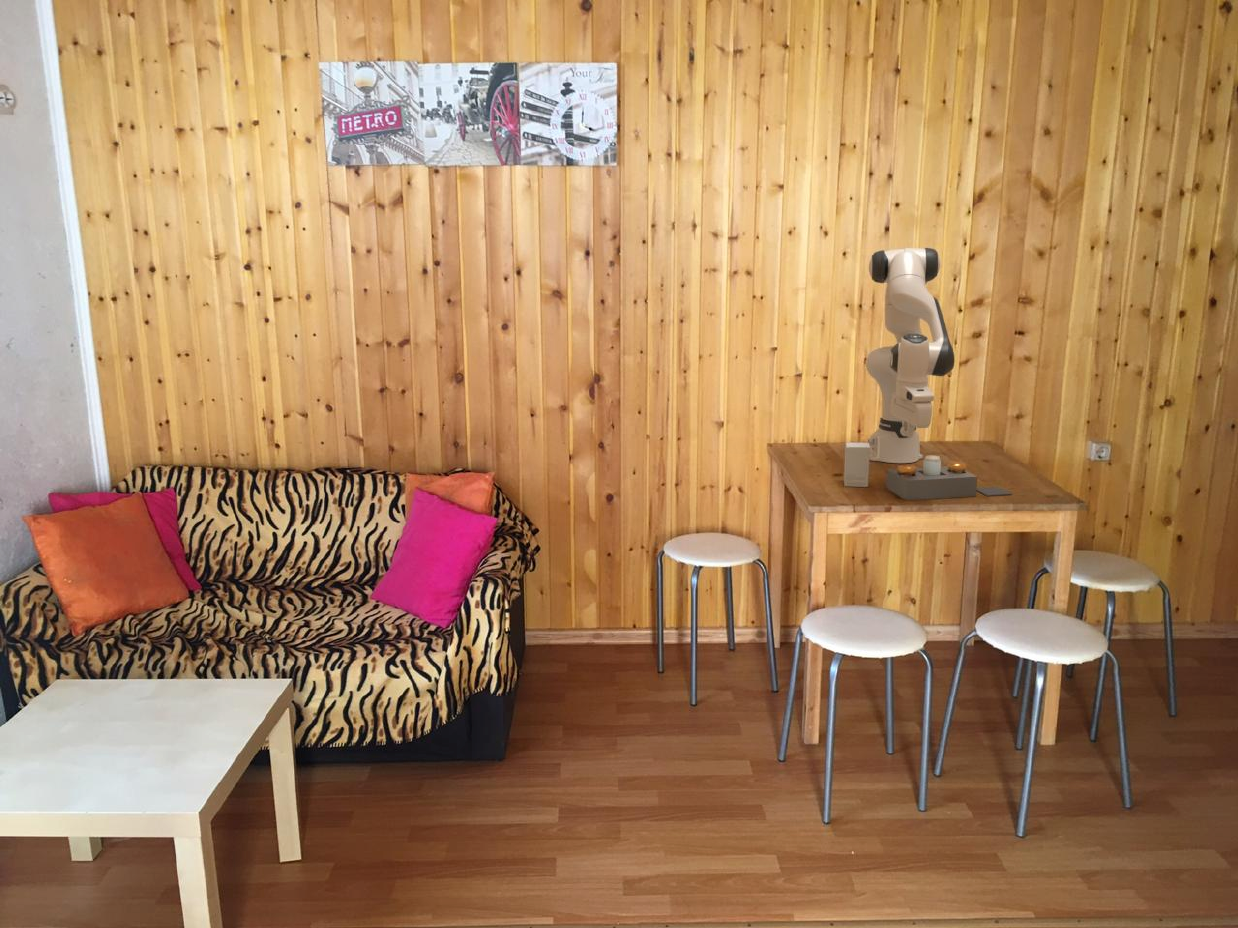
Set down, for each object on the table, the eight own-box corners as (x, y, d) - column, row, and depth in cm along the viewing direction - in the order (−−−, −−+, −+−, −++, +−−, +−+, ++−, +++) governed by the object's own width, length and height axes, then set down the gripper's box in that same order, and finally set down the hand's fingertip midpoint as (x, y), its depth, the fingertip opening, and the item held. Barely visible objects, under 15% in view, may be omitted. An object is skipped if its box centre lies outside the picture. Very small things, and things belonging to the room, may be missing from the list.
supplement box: (868, 487, 312) (870, 447, 309) (843, 486, 313) (845, 446, 310) (867, 481, 319) (869, 442, 316) (843, 480, 320) (845, 441, 317)
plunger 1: (893, 488, 306) (895, 464, 304) (910, 487, 307) (911, 463, 305) (901, 493, 301) (902, 468, 299) (917, 492, 302) (919, 467, 300)
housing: (886, 488, 310) (887, 469, 309) (953, 484, 314) (954, 465, 312) (906, 500, 297) (907, 480, 295) (976, 496, 300) (977, 476, 299)
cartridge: (918, 490, 307) (921, 455, 305) (934, 489, 308) (936, 454, 305) (926, 494, 302) (928, 459, 300) (942, 493, 303) (944, 458, 301)
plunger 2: (943, 485, 308) (944, 461, 307) (959, 484, 309) (960, 460, 307) (951, 489, 303) (953, 465, 302) (967, 488, 304) (969, 464, 302)
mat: (973, 489, 307) (973, 488, 307) (998, 488, 309) (998, 486, 308) (987, 496, 300) (987, 495, 300) (1012, 494, 301) (1012, 493, 301)
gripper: (886, 384, 306) (883, 428, 310) (916, 397, 286) (912, 444, 290) (906, 383, 307) (903, 427, 311) (937, 396, 287) (933, 443, 291)
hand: (908, 436), depth 300 cm, fingers closed
